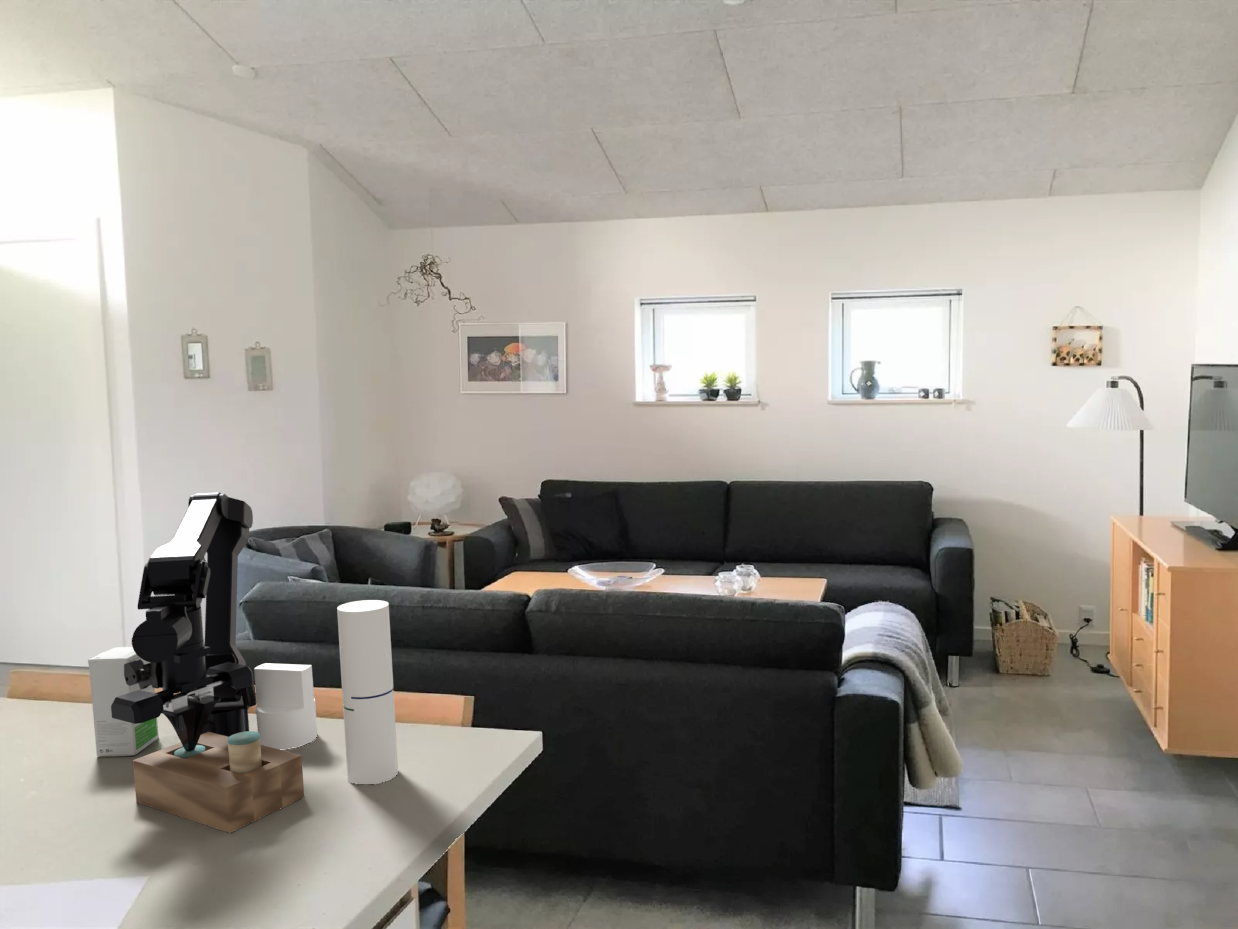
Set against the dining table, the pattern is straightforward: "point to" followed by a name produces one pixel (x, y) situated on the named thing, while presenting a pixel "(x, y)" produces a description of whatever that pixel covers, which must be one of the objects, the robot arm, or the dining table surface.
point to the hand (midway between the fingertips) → (189, 750)
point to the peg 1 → (187, 754)
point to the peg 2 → (244, 752)
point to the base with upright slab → (285, 705)
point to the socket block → (217, 784)
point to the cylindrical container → (367, 691)
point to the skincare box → (104, 689)
